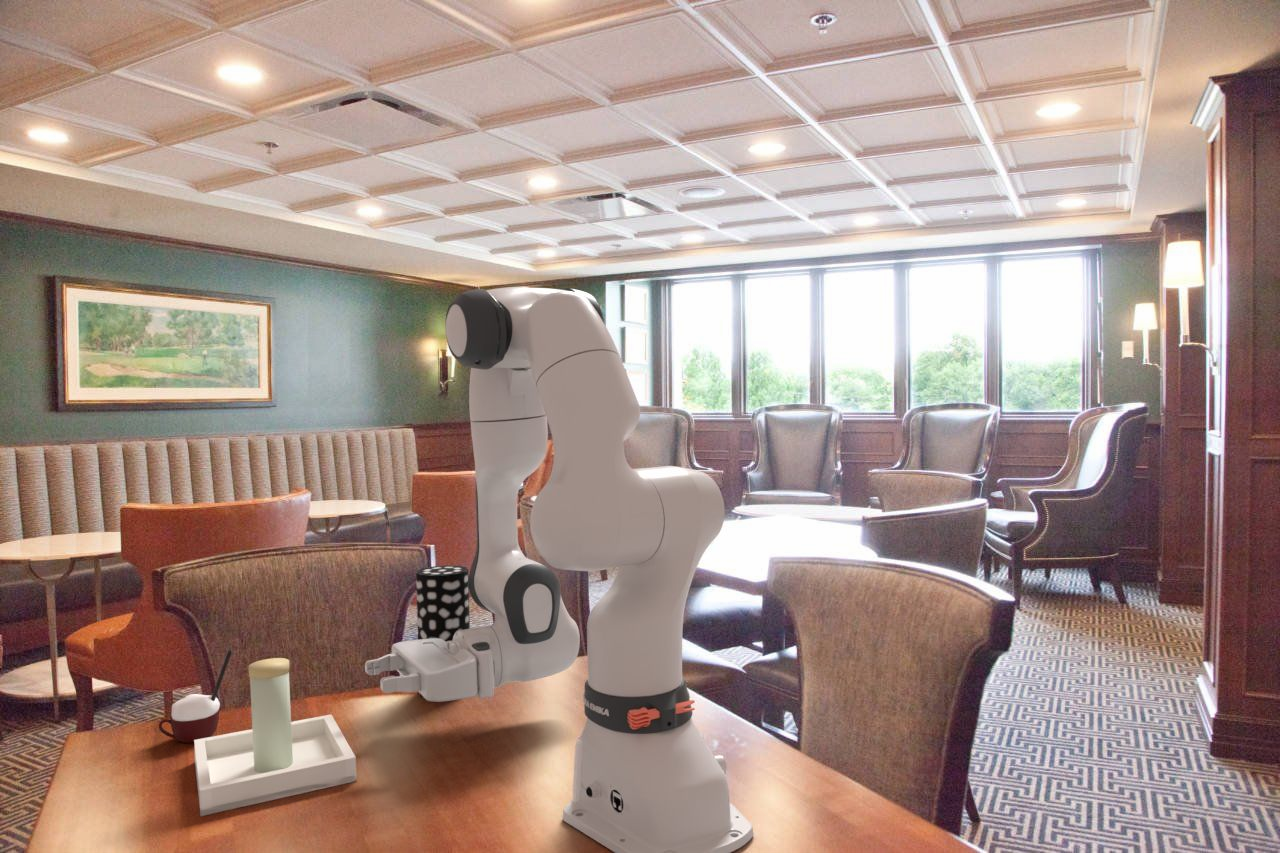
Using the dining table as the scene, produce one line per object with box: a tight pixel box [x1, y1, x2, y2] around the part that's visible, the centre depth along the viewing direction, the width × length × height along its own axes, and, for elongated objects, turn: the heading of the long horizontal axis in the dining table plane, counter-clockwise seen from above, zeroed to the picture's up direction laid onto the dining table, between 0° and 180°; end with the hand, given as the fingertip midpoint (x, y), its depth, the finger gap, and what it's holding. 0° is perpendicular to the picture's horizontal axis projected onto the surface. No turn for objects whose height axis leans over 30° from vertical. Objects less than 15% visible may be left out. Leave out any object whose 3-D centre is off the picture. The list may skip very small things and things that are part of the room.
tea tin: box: [248, 657, 293, 773], centre depth 110 cm, size 5×5×13 cm
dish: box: [193, 713, 357, 817], centre depth 110 cm, size 17×17×3 cm
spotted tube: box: [415, 565, 471, 700], centre depth 139 cm, size 8×8×20 cm
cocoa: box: [158, 648, 233, 744], centre depth 122 cm, size 10×6×12 cm, turn 92°
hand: (373, 676), depth 116 cm, fingers open, 8 cm apart
